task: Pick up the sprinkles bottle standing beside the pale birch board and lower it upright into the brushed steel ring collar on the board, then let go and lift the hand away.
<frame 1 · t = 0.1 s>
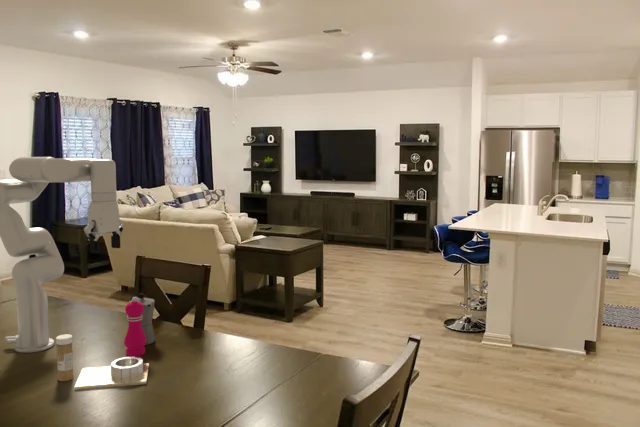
hand: (105, 250, 176), 37 cm above the table, tool pointing down, fingers open, 9 cm apart
coffeepot: (141, 341, 200), on the table
pepper mill: (135, 354, 187), on the table
ring collar: (127, 376, 169), on the table
sprinkles bottle: (65, 379, 166), on the table
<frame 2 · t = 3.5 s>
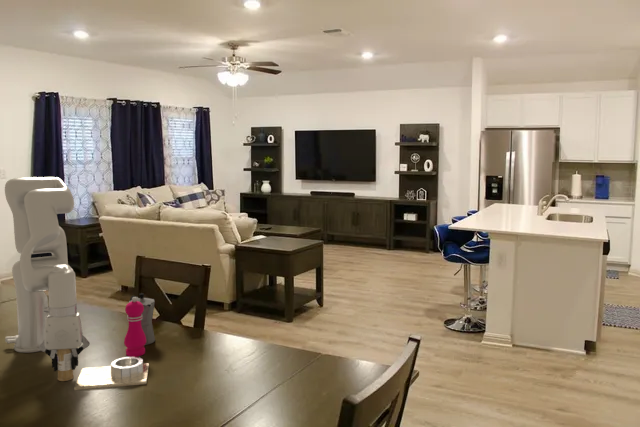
hand: (65, 368, 166), 3 cm above the table, tool pointing down, fingers closed on sprinkles bottle, 4 cm apart
sprinkles bottle: (65, 379, 166), on the table, touching gripper
everything else where it was.
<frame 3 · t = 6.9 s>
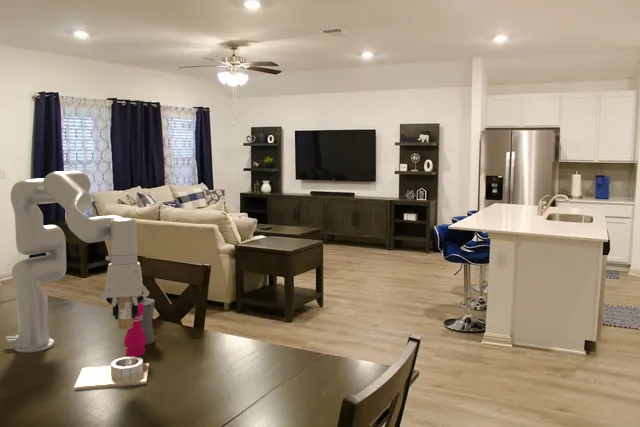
hand: (125, 317, 166), 19 cm above the table, tool pointing down, fingers closed on sprinkles bottle, 4 cm apart
sprinkles bottle: (125, 328, 167), point 15 cm above the table, touching gripper
everything else where it was.
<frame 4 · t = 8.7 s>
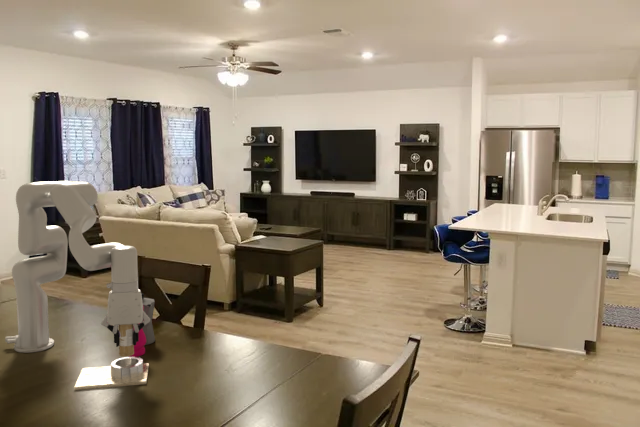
hand: (126, 343, 167), 10 cm above the table, tool pointing down, fingers closed on sprinkles bottle, 4 cm apart
sprinkles bottle: (126, 355, 168), point 7 cm above the table, touching gripper
everything else where it was.
when the fingers open (6 cm above the table, at t = 10.2 s): sprinkles bottle drops 1 cm, resting on ring collar.
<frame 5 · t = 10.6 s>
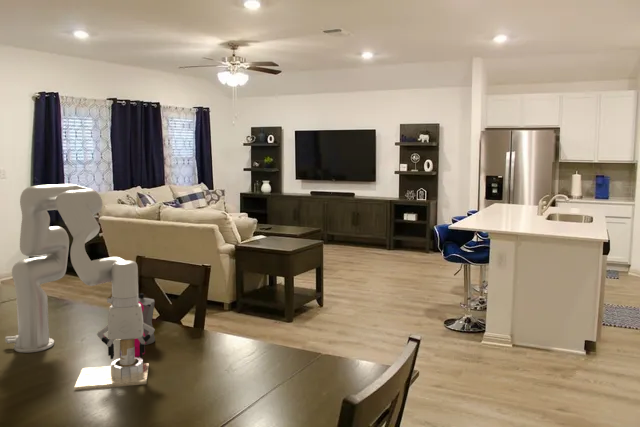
hand: (126, 356, 168), 6 cm above the table, tool pointing down, fingers open, 8 cm apart
sprinkles bottle: (127, 373, 169), point 1 cm above the table, touching ring collar
everything else where it was.
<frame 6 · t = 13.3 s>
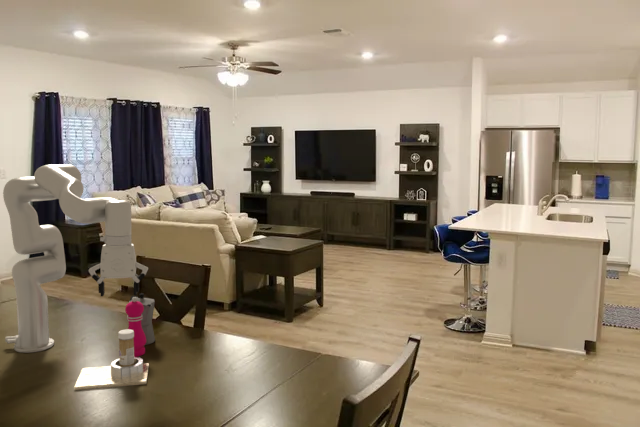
hand: (119, 294, 169), 25 cm above the table, tool pointing down, fingers open, 9 cm apart
nothing on the table moved.
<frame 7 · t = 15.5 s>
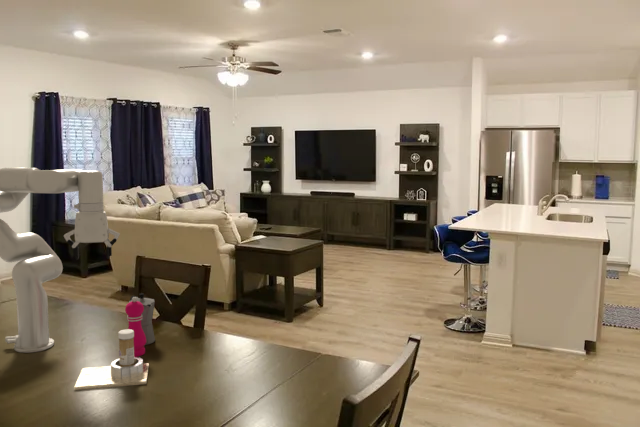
hand: (92, 258, 182), 33 cm above the table, tool pointing down, fingers open, 9 cm apart
nothing on the table moved.
at the end: sprinkles bottle 0.1 cm off-centre on the ring collar, point 0.8 cm above the ring collar's base; sprinkles bottle tilted 0°; the gripper is holding nothing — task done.
